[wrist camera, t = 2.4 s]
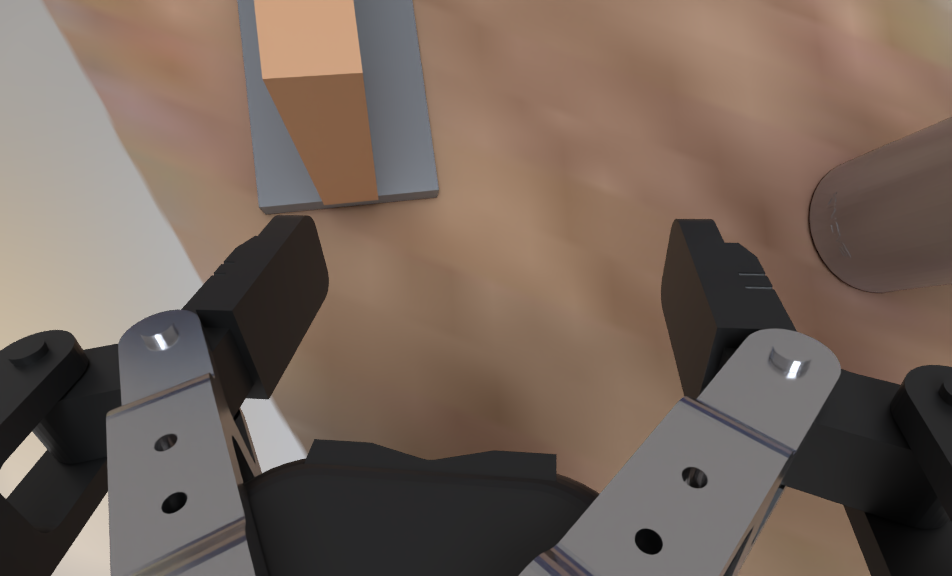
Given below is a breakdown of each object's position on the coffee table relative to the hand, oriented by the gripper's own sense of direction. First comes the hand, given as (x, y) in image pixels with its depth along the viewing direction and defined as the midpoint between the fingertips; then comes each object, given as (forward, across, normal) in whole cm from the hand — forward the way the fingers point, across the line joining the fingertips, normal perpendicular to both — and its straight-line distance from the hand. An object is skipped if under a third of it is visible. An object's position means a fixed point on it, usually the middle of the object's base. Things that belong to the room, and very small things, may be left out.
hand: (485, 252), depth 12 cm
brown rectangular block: (+19, +10, +4) cm, 22 cm away
